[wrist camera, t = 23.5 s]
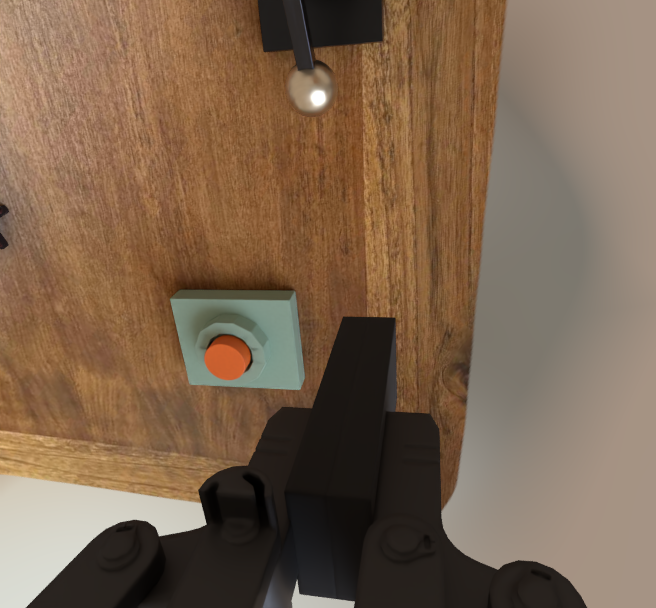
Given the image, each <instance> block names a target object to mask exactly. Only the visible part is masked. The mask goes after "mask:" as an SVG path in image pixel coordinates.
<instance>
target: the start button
mask: <svg viewBox="0 0 656 608" xmlns="http://www.w3.org/2000/svg"><path fill="white" fill-rule="evenodd" d="M250 360H251V353H250V350H249V348H248V346H247V345H246V344H245V342H243V341H242V340H241V339H239V338H238V337H235V336H232V335H223V336H220V337H218V338H216V339H215V340H214V341H213V343H212V344H211V345H210V346H209V348H208V349H207V350H206V352H205V356H204V361H205V364H206V367H207V368H208V370H209V371H210V372H211V373H212V374H213V375H214V376H216V377H218V378H220V379H223V380H234V379H237V378H239V377H240V376H241V375H242V374H243V373H244V371H245V369H246V368H247V366H248V364H249V363H250Z"/></svg>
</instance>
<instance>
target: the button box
mask: <svg viewBox="0 0 656 608" xmlns="http://www.w3.org/2000/svg"><path fill="white" fill-rule="evenodd" d="M170 302H171V306H172V310H173V315H174V319H175V323H176V328H177V332H178V336H179V340H180V345H181V349H182V353H183V358H184V362H185V366H186V370H187V375H188V379H189V383H190V384H191V385H211V386H231V387H252V388H272V389H293V390H300V389H301V386H302V384H303V381H304V379H305V374H304V365H303V356H302V347H301V338H300V329H299V320H298V312H297V303H296V294H295V291H283V290H179V291H178V292H177V293H176V294H174V295H173V296H172V297H171V298H170ZM223 335H232V336H235V337H238V338H239V339H241V340H242V341H243V342H245V344H246V345H247V346H248V348H249V350H250V353H251V360H250V363H249V364H248V366H247V368H246V369H245V371H244V373H243V374H242V375H241V376H240V377H239V378H237V379H234V380H223V379H220V378H218V377H216V376H214V375H213V374H212V373H211V372H210V371H209V370H208V368H207V367H206V364H205V361H204V356H205V352H206V350H207V349H208V348H209V346H210V345H211V344H212V343H213V341H214V340H215V339H216V338H218V337H220V336H223Z"/></svg>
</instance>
